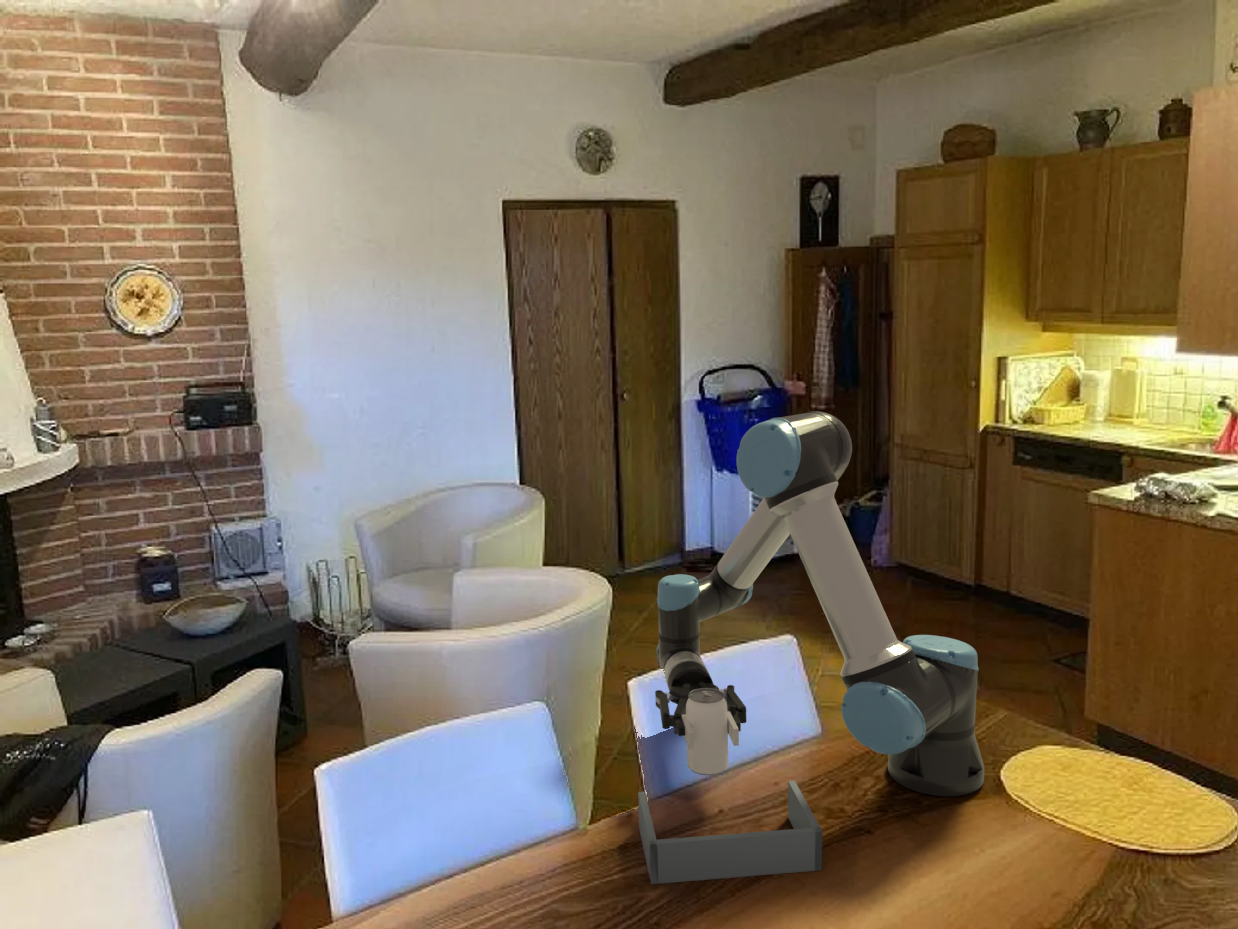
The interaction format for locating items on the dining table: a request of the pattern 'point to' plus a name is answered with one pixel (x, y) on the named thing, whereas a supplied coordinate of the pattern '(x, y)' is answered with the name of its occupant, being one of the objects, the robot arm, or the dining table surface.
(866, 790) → the dining table surface
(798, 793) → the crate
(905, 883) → the dining table surface
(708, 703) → the can
